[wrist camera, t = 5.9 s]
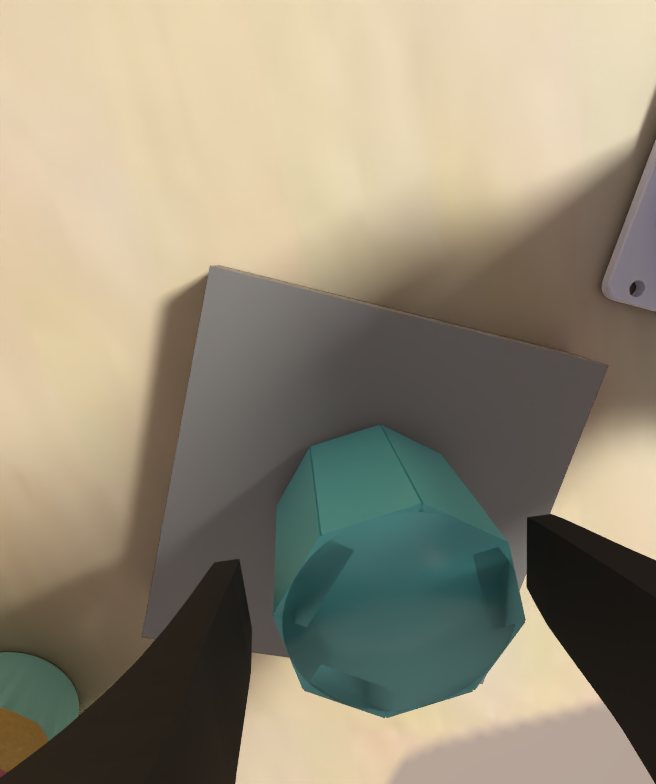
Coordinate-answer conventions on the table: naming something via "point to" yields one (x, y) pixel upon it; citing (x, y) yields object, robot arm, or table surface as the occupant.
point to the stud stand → (348, 423)
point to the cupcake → (31, 706)
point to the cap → (389, 576)
